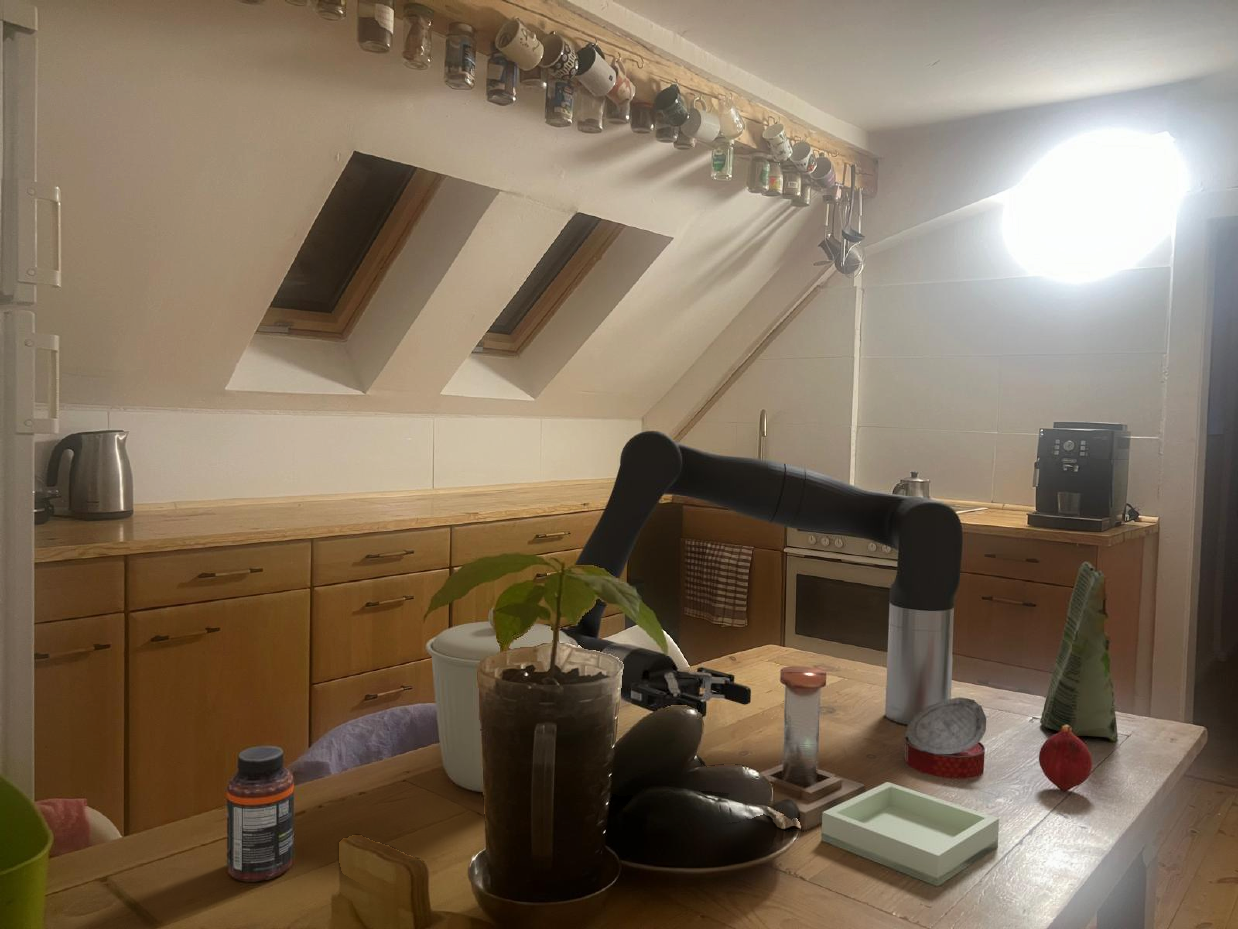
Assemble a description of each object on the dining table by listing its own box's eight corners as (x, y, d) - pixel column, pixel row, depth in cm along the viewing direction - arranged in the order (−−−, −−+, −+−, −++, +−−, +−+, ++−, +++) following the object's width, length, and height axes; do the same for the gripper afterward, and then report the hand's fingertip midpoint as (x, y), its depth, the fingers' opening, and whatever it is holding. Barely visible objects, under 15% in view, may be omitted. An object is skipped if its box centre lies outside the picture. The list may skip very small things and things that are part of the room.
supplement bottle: (238, 855, 91) (239, 741, 91) (300, 854, 92) (301, 741, 91) (217, 885, 85) (218, 763, 85) (283, 884, 86) (285, 763, 86)
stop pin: (794, 773, 112) (797, 664, 111) (831, 786, 108) (835, 673, 107) (767, 784, 108) (771, 671, 107) (804, 797, 104) (809, 680, 104)
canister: (575, 752, 122) (579, 593, 121) (573, 809, 104) (578, 622, 103) (436, 750, 122) (439, 590, 121) (410, 808, 104) (413, 619, 103)
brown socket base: (793, 777, 116) (794, 753, 116) (864, 802, 109) (865, 776, 108) (722, 805, 106) (723, 780, 106) (795, 835, 99) (796, 807, 99)
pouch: (1072, 716, 144) (1080, 555, 143) (1145, 741, 133) (1154, 566, 132) (1020, 725, 139) (1028, 558, 138) (1091, 751, 128) (1100, 570, 127)
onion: (1096, 802, 110) (1099, 735, 110) (1044, 797, 111) (1047, 731, 111) (1082, 784, 116) (1085, 720, 116) (1032, 779, 117) (1035, 716, 117)
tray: (886, 807, 107) (887, 781, 107) (997, 846, 98) (999, 818, 98) (821, 840, 98) (822, 812, 98) (937, 886, 89) (938, 855, 89)
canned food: (983, 810, 119) (1007, 755, 114) (904, 798, 119) (924, 743, 114) (964, 743, 129) (986, 690, 124) (891, 732, 129) (910, 678, 124)
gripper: (597, 655, 122) (689, 682, 110) (672, 640, 132) (764, 663, 120) (596, 712, 122) (688, 745, 111) (670, 692, 132) (762, 721, 121)
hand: (727, 702), depth 116 cm, fingers open, 8 cm apart
